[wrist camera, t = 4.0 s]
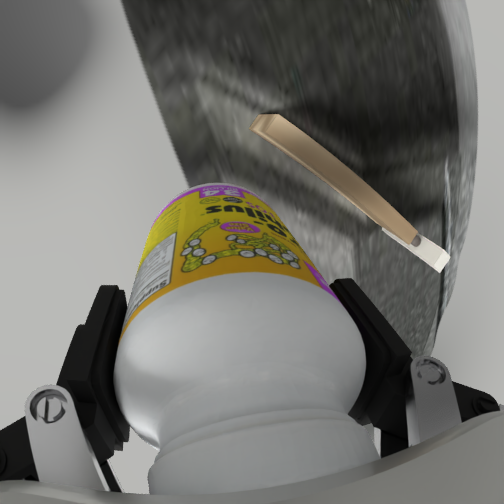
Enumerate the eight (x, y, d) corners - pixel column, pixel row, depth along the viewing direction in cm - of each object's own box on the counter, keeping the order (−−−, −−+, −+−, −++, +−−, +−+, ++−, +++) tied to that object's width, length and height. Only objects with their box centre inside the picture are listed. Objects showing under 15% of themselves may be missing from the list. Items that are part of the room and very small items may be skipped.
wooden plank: (258, 114, 24) (278, 114, 18) (388, 216, 31) (424, 238, 25) (248, 128, 24) (266, 132, 19) (381, 227, 31) (415, 251, 26)
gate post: (390, 216, 31) (444, 249, 23) (397, 222, 32) (450, 257, 24) (381, 229, 31) (433, 266, 23) (388, 235, 32) (439, 273, 24)
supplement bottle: (304, 230, 16) (466, 442, 5) (226, 316, 18) (279, 542, 6) (202, 150, 13) (265, 404, 2) (125, 257, 15) (64, 520, 3)
